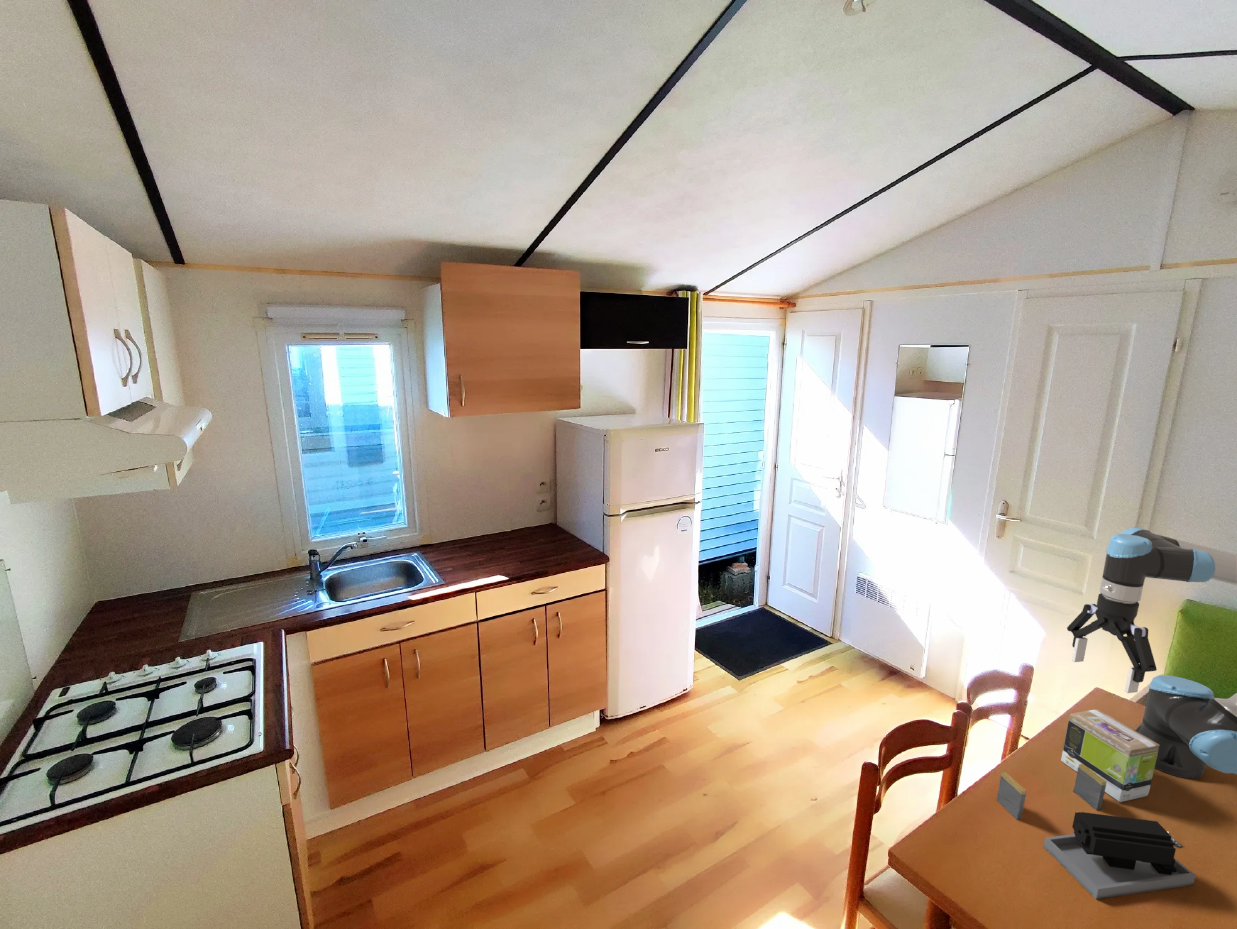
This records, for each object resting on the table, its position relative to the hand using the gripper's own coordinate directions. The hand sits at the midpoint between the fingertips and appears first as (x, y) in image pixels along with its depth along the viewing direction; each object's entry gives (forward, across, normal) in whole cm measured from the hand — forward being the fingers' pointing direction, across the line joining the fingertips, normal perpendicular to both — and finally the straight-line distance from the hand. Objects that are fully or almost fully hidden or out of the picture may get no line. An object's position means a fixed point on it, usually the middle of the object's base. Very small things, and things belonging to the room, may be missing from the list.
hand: (1102, 675), depth 141 cm
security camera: (+28, +24, -17) cm, 41 cm away
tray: (+29, +24, -18) cm, 42 cm away
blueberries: (+29, +20, 0) cm, 35 cm away
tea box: (+29, +2, +4) cm, 29 cm away
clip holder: (+29, +8, -18) cm, 35 cm away
